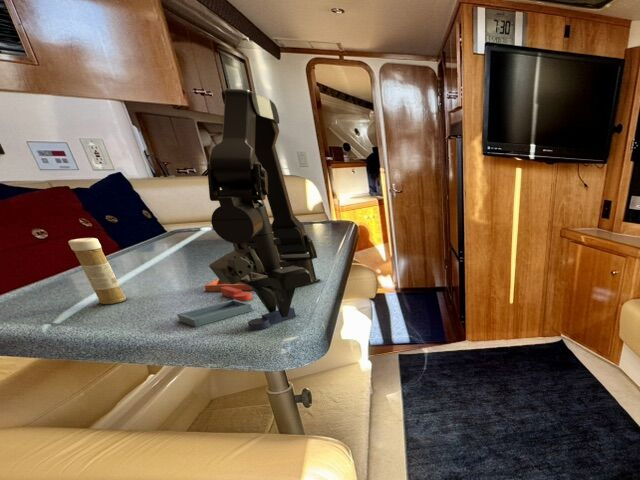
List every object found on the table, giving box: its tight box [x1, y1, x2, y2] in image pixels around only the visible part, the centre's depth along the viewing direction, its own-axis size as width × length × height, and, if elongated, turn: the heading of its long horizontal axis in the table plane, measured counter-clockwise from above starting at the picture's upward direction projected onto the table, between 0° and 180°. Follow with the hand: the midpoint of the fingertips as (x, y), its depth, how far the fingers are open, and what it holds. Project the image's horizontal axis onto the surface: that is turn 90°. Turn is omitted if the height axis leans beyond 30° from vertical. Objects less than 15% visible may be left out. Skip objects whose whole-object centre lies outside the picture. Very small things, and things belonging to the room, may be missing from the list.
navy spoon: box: [247, 306, 297, 331], centre depth 79 cm, size 9×4×2 cm, turn 150°
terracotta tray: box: [203, 278, 254, 292], centre depth 100 cm, size 12×6×1 cm, turn 96°
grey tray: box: [176, 299, 254, 328], centre depth 82 cm, size 11×6×1 cm, turn 150°
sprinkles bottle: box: [67, 237, 127, 305], centre depth 86 cm, size 5×5×14 cm
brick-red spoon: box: [220, 286, 253, 302], centre depth 93 cm, size 9×4×2 cm, turn 60°
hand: (278, 315), depth 80 cm, fingers open, 4 cm apart
